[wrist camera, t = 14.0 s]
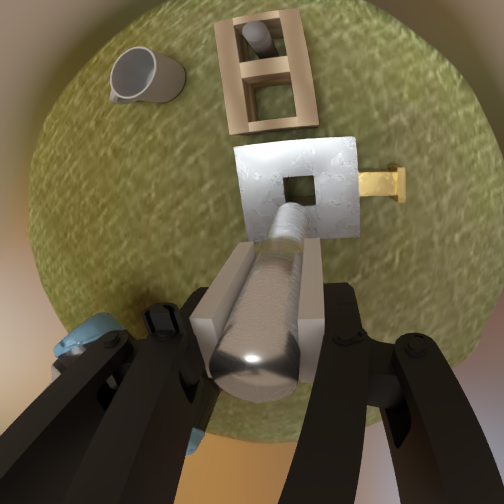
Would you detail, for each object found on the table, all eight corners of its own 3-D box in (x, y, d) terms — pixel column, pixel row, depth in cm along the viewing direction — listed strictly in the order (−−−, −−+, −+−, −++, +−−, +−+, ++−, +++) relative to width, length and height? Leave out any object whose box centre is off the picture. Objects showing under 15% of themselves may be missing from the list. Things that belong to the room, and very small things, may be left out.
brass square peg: (327, 197, 37) (329, 205, 33) (324, 166, 35) (326, 169, 31) (395, 195, 34) (405, 202, 31) (395, 164, 33) (404, 167, 29)
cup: (194, 86, 34) (164, 76, 26) (142, 121, 38) (106, 121, 30) (176, 51, 32) (144, 36, 24) (126, 87, 36) (90, 82, 28)
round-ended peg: (277, 235, 23) (219, 398, 8) (273, 203, 22) (199, 340, 7) (309, 233, 22) (299, 403, 8) (306, 201, 21) (296, 342, 7)
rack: (243, 135, 36) (221, 134, 27) (229, 39, 30) (204, 14, 21) (317, 127, 34) (320, 123, 25) (300, 28, 28) (296, -3, 19)
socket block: (256, 228, 41) (247, 242, 35) (245, 145, 36) (233, 147, 31) (353, 222, 38) (360, 237, 32) (348, 137, 33) (355, 136, 28)
